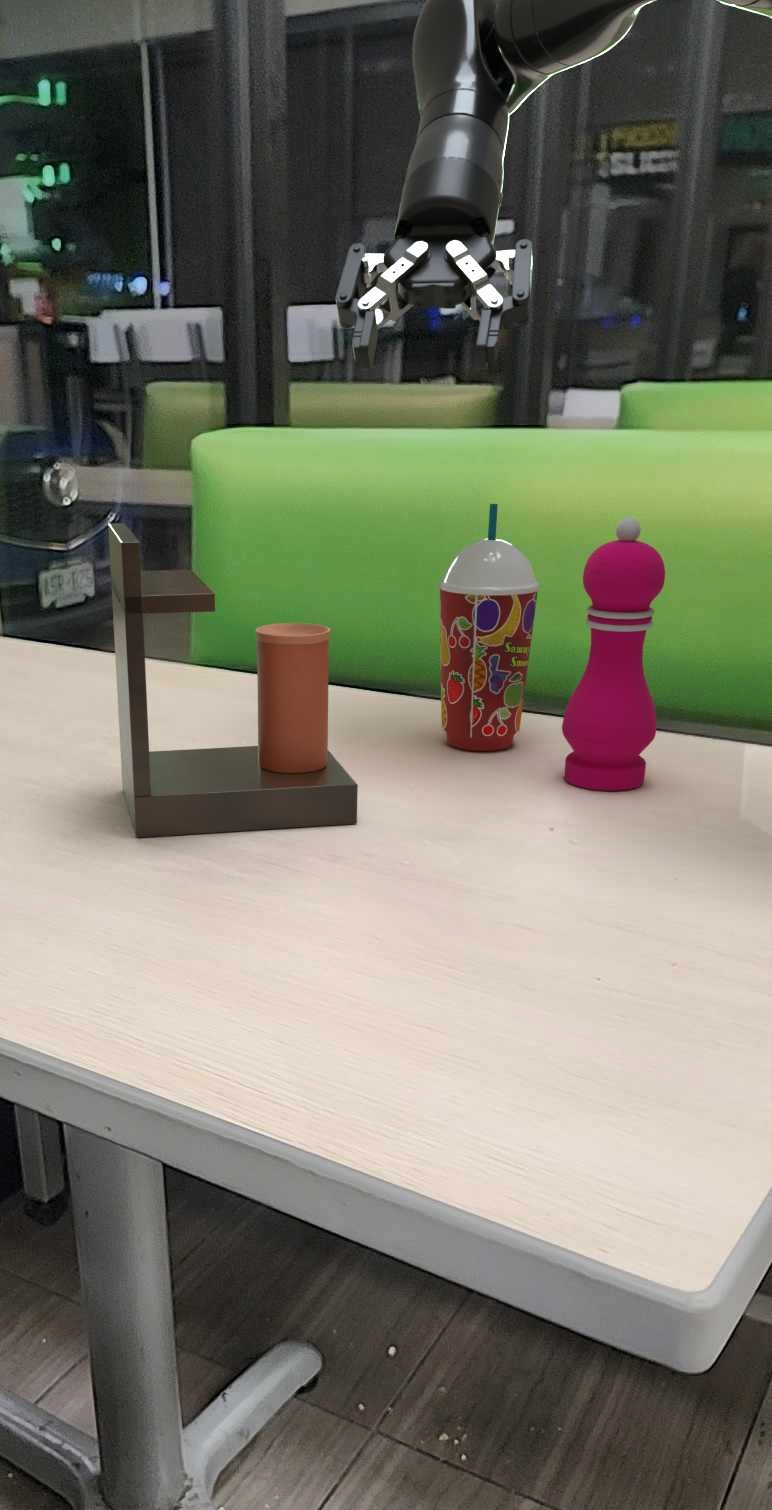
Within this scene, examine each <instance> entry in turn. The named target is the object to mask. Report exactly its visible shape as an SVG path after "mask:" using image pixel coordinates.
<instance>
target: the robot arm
mask: <svg viewBox="0 0 772 1510" xmlns="http://www.w3.org/2000/svg"><path fill="white" fill-rule="evenodd" d="M655 1H656V0H426V1H425V3H424V5H423V7H422V9H421V11H420V14H419V16H418V18H417V21H416V25H415V28H414V32H413V36H412V37H413V38H412V48H411V62H412V72H413V79H414V88H415V93H416V94H415V95H416V102H417V107H418V110H419V111H418V112H419V115H420V116H419V121H418V127H417V133H416V138H415V145H414V148H413V150H412V153H411V154H410V157H409V161H408V164H407V168H406V172H405V177H404V183H403V188H402V193H401V198H400V203H399V208H398V214H397V220H396V224H395V225H396V226H395V229H394V235H393V239H392V240H393V241H392V243H391V244H390V246H389V247H388V248H387V249H386V250H385V252H384V253H377V252H376V253H372V252H370V253H368V252H366V247H365V245H364V244H362V243H361V242H356V243H353V244H351V245H350V247H349V248H348V252H347V255H346V258H345V262H344V266H343V269H342V272H341V275H340V279H339V284H338V287H337V290H336V294H335V305H336V310H337V316H338V322H339V326H340V327H341V328H342V329H345V330H346V329H347V330H348V329H351V328H353V327H354V330H353V335H352V338H351V339H352V340H351V346H352V352H353V358H354V361H355V363H358V364H359V363H360V370H361V371H372V369H373V364H374V358H375V354H376V348H377V345H378V344H377V343H378V338H379V330H380V329H381V328H382V327H383V326H384V325H386V324H387V323H388V322H389V321H390V320H391V321H393V322H395V321H397V320H399V319H400V318H401V317H402V316H403V315H405V313H406V312H408V311H409V310H410V309H411V308H412V307H413V309H414V310H426V309H431V308H440V309H447V310H449V309H451V310H453V309H456V307H457V306H459V305H461V306H462V307H463V309H464V310H465V311H466V312H467V313H468V315H470V317H471V318H472V319H473V320H474V321H476V320H478V321H479V327H478V332H477V339H476V345H475V357H476V358H475V360H476V361H475V362H476V363H475V364H476V371H486V370H488V366H489V365H488V364H489V363H495V362H496V360H497V359H498V357H499V351H500V343H501V338H502V337H501V336H502V331H504V328H505V327H507V326H510V325H514V326H515V327H518V328H523V327H525V326H527V325H528V324H529V323H530V315H531V314H530V313H531V299H532V298H531V297H532V282H533V281H532V279H533V242H532V240H530V239H527V238H522V239H520V240H518V241H516V243H515V245H514V247H515V248H514V249H505V250H496V248H495V246H494V243H495V236H496V231H497V224H498V217H499V211H500V209H501V205H502V201H503V184H504V158H505V152H506V146H507V140H508V133H509V125H510V115H512V114H513V113H514V112H515V111H516V110H517V109H518V108H519V107H520V106H521V105H522V103H524V101H525V100H526V99H527V98H528V97H529V96H530V95H531V94H532V93H533V92H534V91H536V89H537V88H538V87H540V86H541V85H542V84H543V83H544V82H545V81H547V80H548V79H549V78H550V77H552V76H553V75H555V74H558V73H560V72H563V71H565V70H568V69H570V68H573V67H576V66H578V65H581V64H584V63H586V62H588V61H591V60H594V58H597V57H599V56H601V55H603V54H604V53H606V52H608V51H609V50H611V49H612V48H613V47H615V46H616V45H617V44H618V43H619V42H620V41H621V40H622V39H624V37H625V36H626V35H627V34H628V32H629V31H630V30H631V28H632V27H633V25H634V24H635V22H636V20H637V18H638V17H639V15H640V13H641V11H642V9H643V7H644V6H645V5H647V4H650V3H652V2H655ZM717 1H718V2H720V3H721V4H723V5H727V6H730V7H735V8H738V9H741V10H745V11H747V12H752V13H755V14H758V15H761V16H766V17H768V18H771V19H772V0H717ZM496 271H500V272H502V273H503V276H504V279H505V280H507V281H508V284H509V285H510V286H512V291H511V295H508V296H505V297H503V296H502V295H501V294H500V292H498V291H497V290H496V288H495V287H494V286H493V285H492V284H491V282H490V280H491V279H492V278H493V277H494V276H495V274H496ZM379 274H381V275H380V276H379V277H378V278H377V282H376V283H375V286H374V287H373V288H371V289H370V290H369V291H367V293H365V290H366V288H367V289H368V288H370V287H372V282H373V281H375V279H376V277H377V276H378V275H379ZM398 294H399V295H398Z"/></svg>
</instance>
